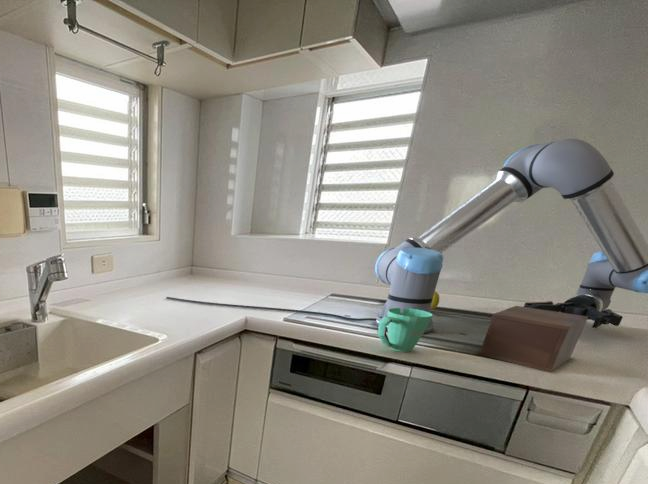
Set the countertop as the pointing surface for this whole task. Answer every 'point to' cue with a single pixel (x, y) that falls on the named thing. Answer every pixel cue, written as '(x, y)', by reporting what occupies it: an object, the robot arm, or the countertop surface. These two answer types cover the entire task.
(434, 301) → the lemon
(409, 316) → the mug
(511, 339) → the cabinet
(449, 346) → the countertop surface
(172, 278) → the countertop surface
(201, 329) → the countertop surface
